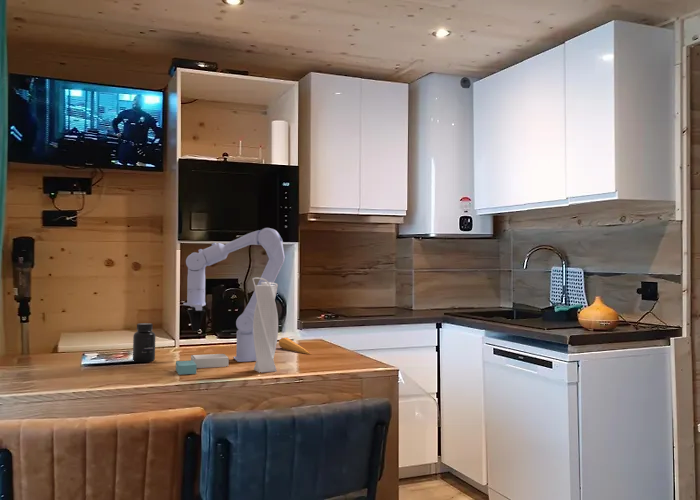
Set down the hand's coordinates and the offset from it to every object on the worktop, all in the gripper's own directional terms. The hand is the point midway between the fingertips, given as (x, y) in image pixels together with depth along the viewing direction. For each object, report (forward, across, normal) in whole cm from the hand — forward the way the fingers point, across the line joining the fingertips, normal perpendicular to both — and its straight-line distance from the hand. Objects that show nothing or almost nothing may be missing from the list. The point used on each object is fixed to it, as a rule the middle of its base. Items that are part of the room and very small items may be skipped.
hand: (195, 330), depth 204 cm
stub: (+9, +22, -5) cm, 24 cm away
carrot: (+10, -6, +36) cm, 38 cm away
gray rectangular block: (+9, +12, +3) cm, 15 cm away
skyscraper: (+10, +26, +17) cm, 33 cm away
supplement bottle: (+10, -2, -16) cm, 19 cm away
